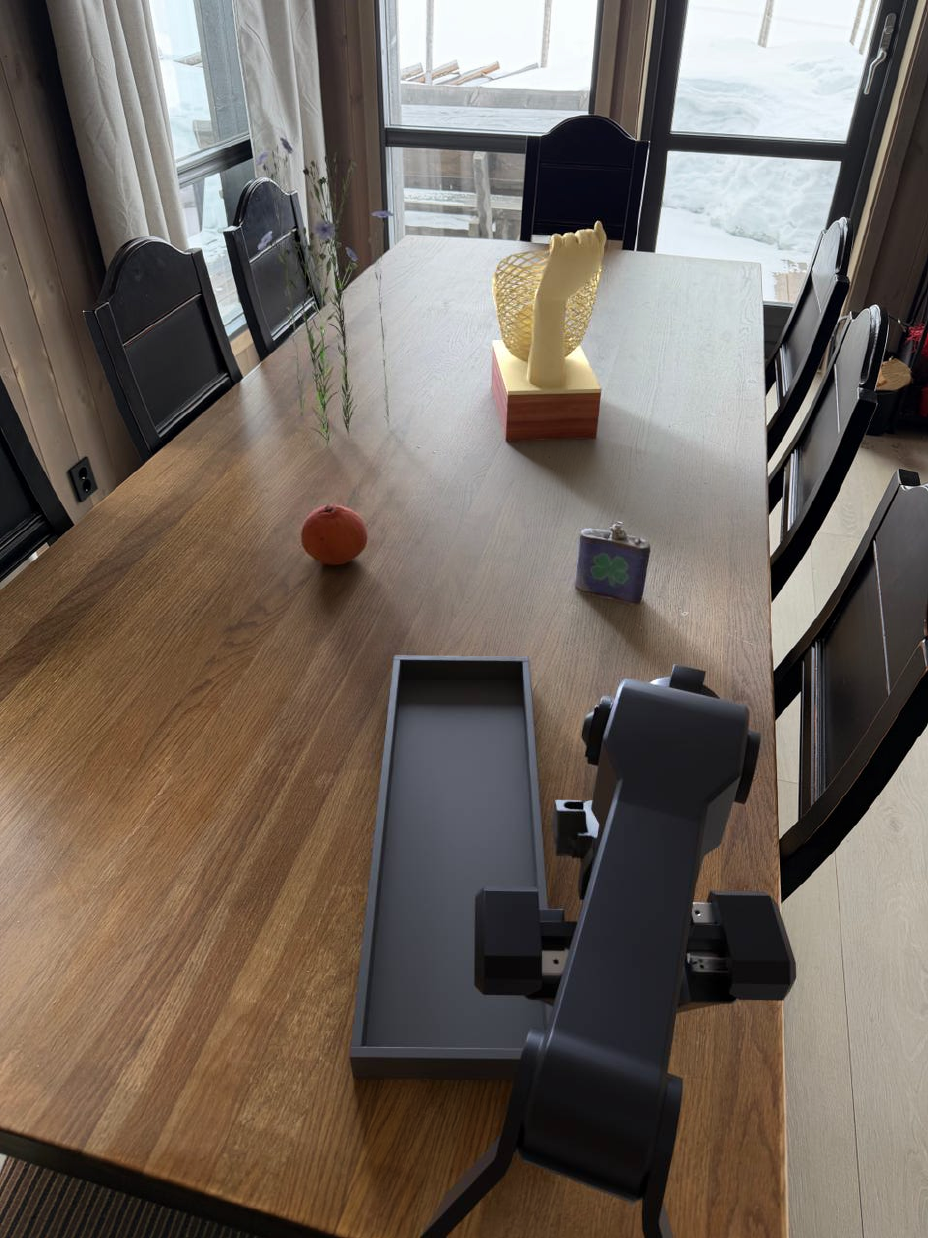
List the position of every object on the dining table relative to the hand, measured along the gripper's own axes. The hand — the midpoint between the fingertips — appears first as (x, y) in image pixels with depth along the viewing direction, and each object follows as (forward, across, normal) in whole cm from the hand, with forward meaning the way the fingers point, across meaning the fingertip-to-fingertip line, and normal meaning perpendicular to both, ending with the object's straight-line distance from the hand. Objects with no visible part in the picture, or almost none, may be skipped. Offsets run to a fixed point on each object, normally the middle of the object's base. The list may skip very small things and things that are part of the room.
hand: (612, 1009), depth 58 cm
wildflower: (+13, +34, -111) cm, 117 cm away
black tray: (+12, +11, -24) cm, 29 cm away
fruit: (+13, +29, -71) cm, 78 cm away
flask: (+13, -8, -64) cm, 65 cm away
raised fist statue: (+13, -2, -119) cm, 120 cm away
